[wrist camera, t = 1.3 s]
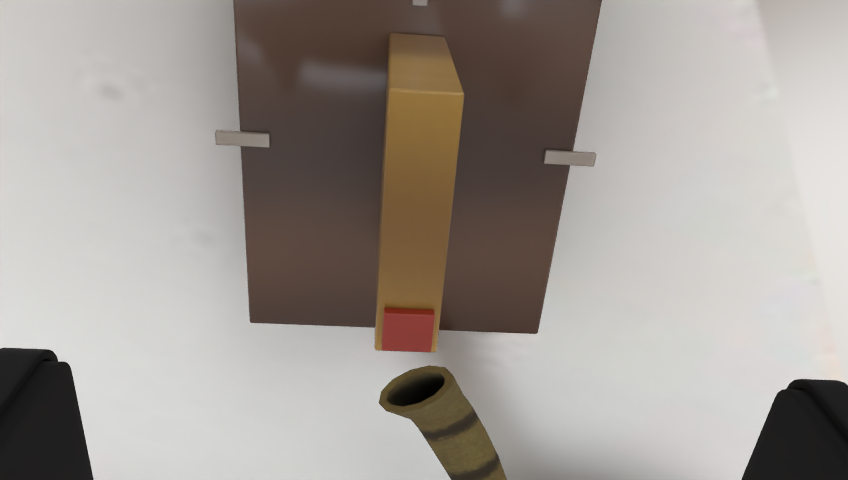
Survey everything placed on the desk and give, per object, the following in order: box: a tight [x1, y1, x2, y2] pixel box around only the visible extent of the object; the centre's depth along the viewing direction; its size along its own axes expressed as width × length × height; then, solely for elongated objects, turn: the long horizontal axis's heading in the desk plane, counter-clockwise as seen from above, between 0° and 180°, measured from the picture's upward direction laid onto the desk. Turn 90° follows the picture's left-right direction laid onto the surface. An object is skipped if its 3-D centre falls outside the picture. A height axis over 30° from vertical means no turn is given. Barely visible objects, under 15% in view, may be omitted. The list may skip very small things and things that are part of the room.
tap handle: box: [375, 33, 464, 352], centre depth 16 cm, size 6×1×5 cm, turn 176°
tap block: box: [215, 0, 602, 334], centre depth 20 cm, size 12×10×3 cm
